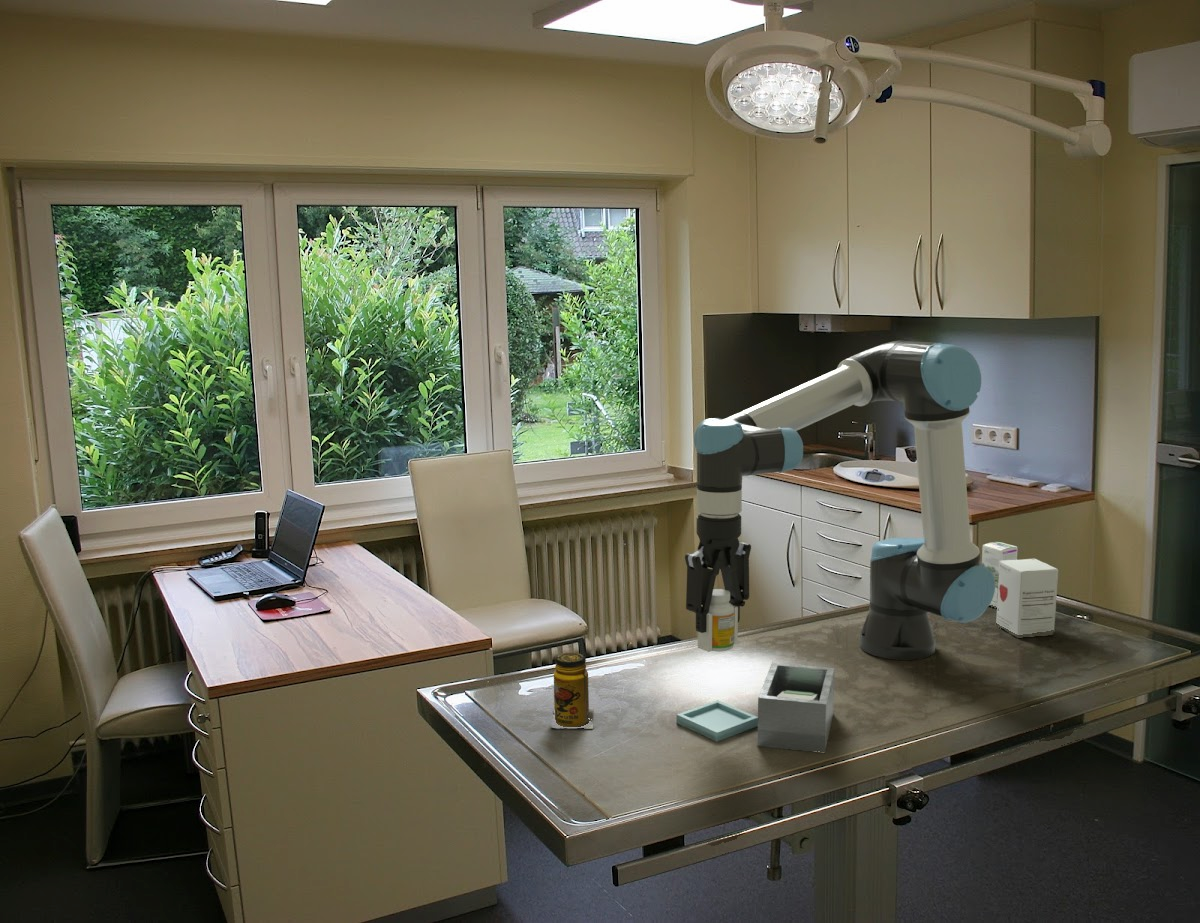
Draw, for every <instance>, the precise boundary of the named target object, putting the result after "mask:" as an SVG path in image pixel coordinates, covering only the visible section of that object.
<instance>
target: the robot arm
mask: <svg viewBox="0 0 1200 923" xmlns="http://www.w3.org/2000/svg"><path fill="white" fill-rule="evenodd" d="M981 388H982V372H981V369H980V365H979V363H978V361H977V359H976V358H975V356H974V355H973V354H972V353H971V352H969V350H967V349H966V348H964V347H962V346H959V345H956V344H955V345H954V344H950V343H945V342H929V341H910V340H894V341H890V342H886V343H882V344H880V345H877V346H874V347H872V348H869V349H866V350H863V351H861V352H859V353H857V354H856V353H855V354H854V355H852V356H849V357H848V358H845V359H843V360H842V361H840V362H839V364H838V365H837V367H836V369H834V370H831V371H829V372H827V373H825V374H822V375H821V376H818V377H816V378H813V379H811V380H808V381H807V382H804V383H802V384H800V385H798V386H795V387H793V388H791V389H789V390H786V391H784V392H783V393H781V394H778V395H775V396H773V397H771V398H769V399H767V400H764V401H762V402H760V403H758V404H755V405H753V406H751V407H749V408H746V409H743V410H742V411H740V412H737V413H735V414H733V415H730V416H728V417H726V418H719V417H714V418H712V417H711V418H709V417H708V418H706V419H704V420H702V421H701V422H700V423H699V424H698V425H697V427H696V429H695V431H694V436H693V444H694V447H695V451H696V511H697V512H698V514H697V515H696V528H695V529H696V530H695V531H696V535H697V537H698V539H699V542H698V546H697V551H694V552H693V553H686V554H685V556H684V560H685V564H686V569H687V570H686V595H685V596H686V597H685V599H686V600H685V609H686V610H687V611H690V612H692V613H694V614H695V630H696V632H697V648H698V649H700V650H703V651H706V652H707V653H709V652H713V651H712V614H711V613H708V612H709V608H710V603H711V598H712V593H713V589H714V588H715V587H714V586H715V583H716V579H717V577H718V575H719V574H720V572H721V576H722V583H723V586H724V590H727V591H729V592H730V601H729V603H730V604H732V605H733V607H734V645H735V644H738V634H739V632H738V630H739V627H738V626H739V622H740V619H741V618H740V615H741V613H740V611H741V607H742V608H743V607H744V606H746V601H747V600H749V598H750V556H751V552H752V551H751V550H752V545H751V544H749V543H746V542H742V541H740V540H739V537H741V535H742V515H741V514H740V513H741V512H742V507H743V505H742V501H743V498H742V497H743V496H742V494H743V493H742V492H743V491H742V490H743V489H742V488H743V477H747V476H756V475H763V474H765V475H766V474H773V473H774V474H775V473H778V474H780V473H781V474H782V473H784V472H787V471H792V470H794V469H796V468H798V467H799V466H800V465H801V463H802V460H803V458H804V443H803V440H802V437H801V436H800V434H799V433H798V431H799V430H802V429H803V428H807V427H808V426H810V425H813V424H814V423H816V422H819V421H821V420H823V419H825V418H827V417H829V416H832V415H834V414H837V413H838V412H841V411H843V410H846V409H847V408H850V407H851V406H853V405H854V406H857V407H864V406H866V405H869V404H870V403H874V402H880V401H892V402H893V401H894V402H898V403H899V402H900V403H903V411H904V420H906V421H907V422H908V423H910V424H911V425H912V426H913V428H914V429H913V430H914V441H915V443H914V444H915V453H916V465H917V475H918V486H919V487H918V489H919V490H918V491H919V499H920V511H921V512H920V513H921V524H922V535H923V536H922V537H923V538H921V537H894V538H886V539H881V540H879V541H877V542H875V543H874V544H873V546H872V548H871V557H870V559H869V560H870V561H869V562H870V564H869V565H870V568H869V569H870V570H869V572H870V574H869V575H870V576H869V610H868V614H867V615H866V619H865V621H864V624H863V626H862V629H861V632H860V635H859V647H860V649H861V650H862V651H864V652H865V653H868V654H870V655H872V656H875V657H879V658H884V659H889V660H897V661H898V660H899V661H914V660H922V659H926V658H929V657H931V656H932V654H933V653H934V654H935V652H936V637H935V635H934V633H933V628H932V624H931V621H930V618H929V614H928V613H930V614H934V615H936V616H940V617H942V618H943V619H945V620H946V621H953V622H958V623H961V624H967V623H971V622H973V621H975V620H977V619H978V618H980V617H981V616H982V615H983V614H984V613H985V612H986V611H987V609H988V607H989V605H990V603H991V601H992V599H993V596H994V592H995V578H994V575H993V573H992V572H991V571H990V570H989V569H988V568H987V567H984V566H983V565H982V562H981V551H980V548H979V547H978V546H977V545H976V544H975V543H973V542H972V541H971V531H970V529H971V528H970V516H969V504H968V503H969V502H968V490H967V489H968V488H967V476H966V463H965V449H964V448H965V447H964V436H963V435H964V433H963V421H964V420H965V419H966V418H967V417H968V416H969V415H970V411H971V410H970V407H971V406H972V405H973V404H974V403H975V402H976V400H977V399H978V397H979V396H978V394H977V393H980V391H981ZM934 654H933V655H934ZM930 655H931V656H930Z"/></svg>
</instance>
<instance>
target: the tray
mask: <svg viewBox="0 0 1200 923" xmlns="http://www.w3.org/2000/svg"><path fill="white" fill-rule="evenodd" d="M675 723H676V724H678V725H680V726H682V727H683V728H686V729H689V730H691V731H693V732H696V733H697V734H699V735H702V736H704V737H706V738H708V739H711V740H713V741H715V742H720V741H722V740H725V739H727V738H730V737H732V736H735V735H736V736H737V735H738V734H741V733H743V732H746V731H750V729H753V728H756V727H757V728H758V715H757V716H756V715H754V714H752V713H750V712H748V711H744V710H742V709H739V708H738V707H735V706H733V705H730V704H728V703H725V702H722V701H721V700H718V699H716V700H714V701H711V702H708V703H705V704H703V705H699V706H697V707H694V708H690V709H689V710H685V711H681V712H679V713H676V722H675Z"/></svg>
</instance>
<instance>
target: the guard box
mask: <svg viewBox="0 0 1200 923" xmlns="http://www.w3.org/2000/svg"><path fill="white" fill-rule="evenodd" d="M786 690H790V691H801V692H811V693H814V694H818V698H817V699H818V701H816V700H806V699H796V698H786V697H777V695H779V694H780V693H781V692H782V691H786ZM834 694H835V667H828V666H827V667H826V666H815V665H803V664H793V663H783V662H782V663H781V662H773V661H772V662H771V664H770V667H769V668H768V671H767V675H766V676H765V679H764V681H763V684H762V687H761V689H760V693H759V694H758V696H757V697H758V698H757V717H758V726H757V744H756V745H757V747H760V748H761V747H762V748H763V747H764V748H771V749H781V750H788V749H791V751H797V750H803V751H802V752H806V751H817V752H818V751H820V752H825V753H826V750H827V749H826V748H827V746H826V745H827V744H828V741H827V740H828V739H829V735H830V732H831V731H830V730H831V726H832V721H833V716H834V703H835V701H834V699H835V697H834V696H835V695H834ZM825 749H826V750H825Z"/></svg>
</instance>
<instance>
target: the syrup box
mask: <svg viewBox="0 0 1200 923" xmlns="http://www.w3.org/2000/svg"><path fill="white" fill-rule="evenodd" d="M1018 550H1019V549H1018V546H1016V545H1012V544H1009V543H1005V542H1000V541H993V542H988V543H985V544H982V551H981V552H982V553H981V565H983V566H984V567H987V568H988V569H989V570H990V571H991V572H992V573H993V575H994V578H995V592H994V596H993V599H992V601H991V603H990V605H993V606H996V607H997V599H998V581H999V563H1000V561H1003V560H1018Z"/></svg>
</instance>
